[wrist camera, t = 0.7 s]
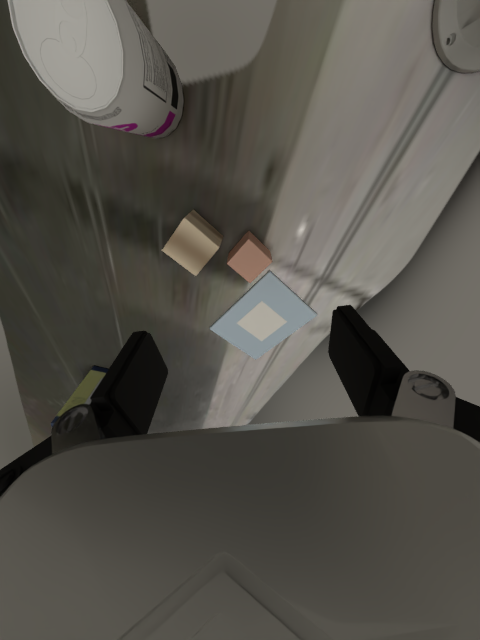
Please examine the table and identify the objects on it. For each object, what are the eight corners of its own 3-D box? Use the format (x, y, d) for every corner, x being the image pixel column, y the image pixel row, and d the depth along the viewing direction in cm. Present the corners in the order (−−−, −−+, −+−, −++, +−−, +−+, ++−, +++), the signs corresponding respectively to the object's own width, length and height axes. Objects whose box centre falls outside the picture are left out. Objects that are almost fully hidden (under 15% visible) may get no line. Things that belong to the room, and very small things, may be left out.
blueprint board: (269, 270, 39) (269, 271, 39) (316, 313, 44) (317, 315, 44) (209, 327, 47) (209, 329, 47) (255, 358, 53) (255, 360, 52)
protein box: (96, 397, 65) (59, 453, 52) (93, 364, 56) (48, 422, 44) (131, 404, 67) (105, 461, 54) (134, 374, 58) (103, 432, 45)
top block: (248, 230, 35) (248, 239, 31) (269, 250, 37) (272, 261, 33) (229, 252, 38) (226, 263, 34) (249, 270, 39) (250, 283, 35)
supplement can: (173, 152, 30) (121, 147, 17) (110, 113, 27) (2, 75, 15) (195, 75, 25) (146, -3, 13) (123, 21, 23) (-15, -133, 11)
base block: (193, 209, 34) (184, 217, 29) (223, 236, 36) (219, 247, 31) (173, 238, 36) (161, 250, 32) (202, 261, 39) (195, 276, 34)
